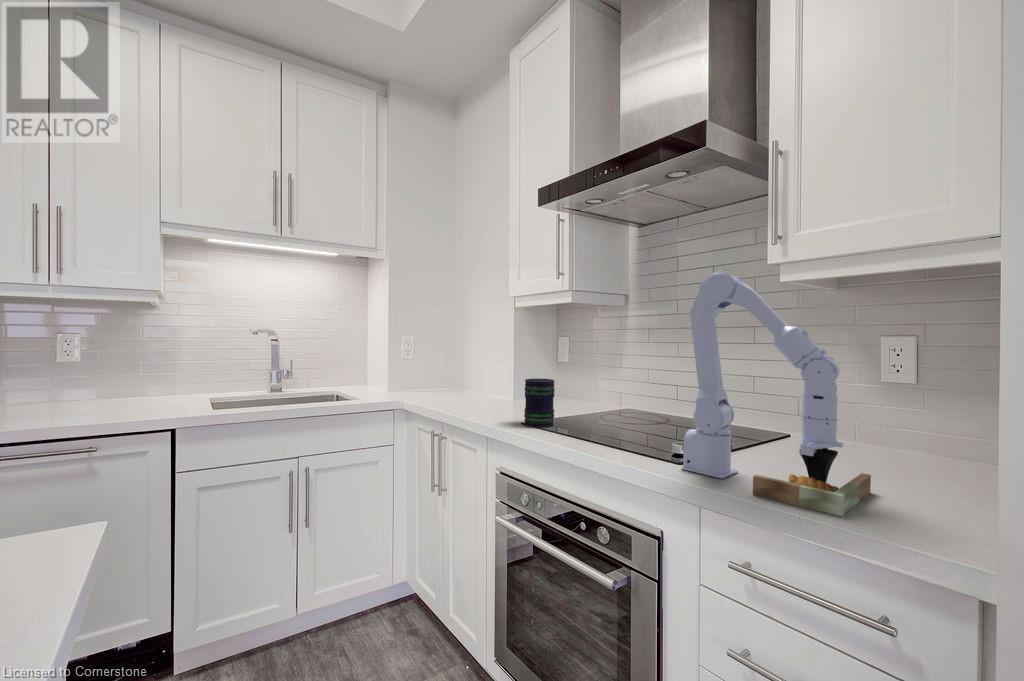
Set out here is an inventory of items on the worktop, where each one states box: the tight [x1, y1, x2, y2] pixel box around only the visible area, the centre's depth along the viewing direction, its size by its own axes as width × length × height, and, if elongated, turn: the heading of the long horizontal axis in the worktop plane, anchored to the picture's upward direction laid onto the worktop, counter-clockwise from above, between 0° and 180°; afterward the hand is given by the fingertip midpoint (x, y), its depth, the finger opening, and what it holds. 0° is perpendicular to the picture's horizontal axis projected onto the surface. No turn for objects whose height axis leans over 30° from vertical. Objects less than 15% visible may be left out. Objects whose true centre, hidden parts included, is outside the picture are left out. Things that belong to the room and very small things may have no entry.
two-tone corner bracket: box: [752, 472, 872, 517], centre depth 93 cm, size 14×20×4 cm
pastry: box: [788, 473, 840, 492], centre depth 91 cm, size 9×7×4 cm
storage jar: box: [523, 378, 556, 429], centre depth 158 cm, size 10×10×15 cm
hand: (817, 486), depth 95 cm, fingers closed
